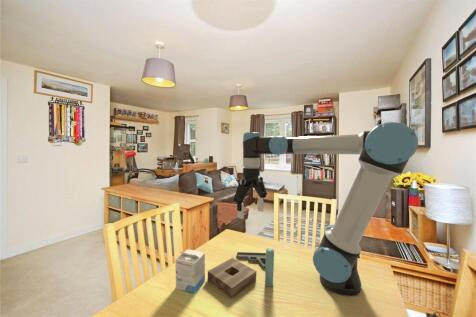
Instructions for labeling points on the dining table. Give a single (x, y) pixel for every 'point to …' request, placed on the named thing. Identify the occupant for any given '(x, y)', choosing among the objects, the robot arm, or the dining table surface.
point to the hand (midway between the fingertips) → (251, 214)
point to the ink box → (190, 270)
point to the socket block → (231, 277)
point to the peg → (269, 267)
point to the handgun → (253, 257)
